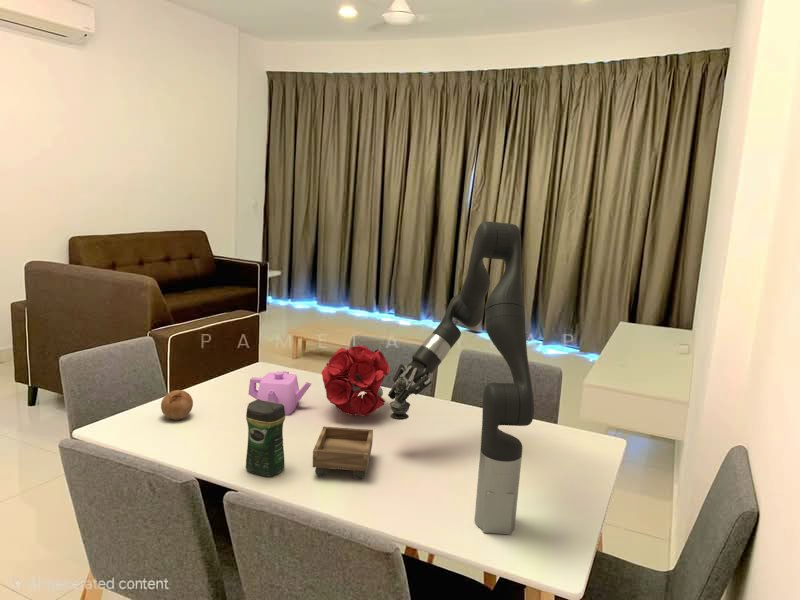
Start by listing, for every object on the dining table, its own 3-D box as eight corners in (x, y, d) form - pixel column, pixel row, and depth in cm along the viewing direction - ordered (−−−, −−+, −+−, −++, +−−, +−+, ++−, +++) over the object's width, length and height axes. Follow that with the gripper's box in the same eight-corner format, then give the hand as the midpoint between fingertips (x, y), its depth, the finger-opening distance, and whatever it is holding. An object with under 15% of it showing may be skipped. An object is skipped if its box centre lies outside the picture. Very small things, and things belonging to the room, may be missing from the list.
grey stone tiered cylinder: (385, 417, 164) (387, 376, 162) (395, 411, 169) (397, 371, 167) (403, 421, 161) (406, 380, 159) (413, 415, 167) (415, 374, 165)
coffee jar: (289, 467, 155) (290, 401, 152) (271, 480, 148) (272, 410, 145) (259, 459, 159) (259, 394, 156) (240, 471, 152) (240, 403, 148)
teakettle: (285, 395, 209) (286, 362, 207) (313, 409, 197) (314, 374, 195) (242, 405, 198) (242, 370, 195) (269, 421, 186) (269, 384, 183)
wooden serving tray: (366, 482, 150) (367, 454, 149) (312, 478, 150) (313, 450, 149) (371, 454, 166) (373, 429, 164) (322, 451, 166) (323, 426, 165)
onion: (180, 431, 182) (179, 409, 176) (154, 419, 183) (153, 396, 178) (199, 411, 189) (199, 389, 183) (175, 400, 191) (174, 378, 185)
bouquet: (339, 414, 212) (302, 396, 185) (360, 353, 218) (327, 327, 192) (392, 431, 204) (361, 414, 177) (413, 367, 210) (386, 342, 183)
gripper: (410, 339, 172) (373, 384, 167) (439, 351, 160) (400, 400, 156) (424, 355, 176) (388, 399, 171) (453, 367, 164) (416, 415, 159)
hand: (394, 399), depth 163 cm, fingers closed on grey stone tiered cylinder, 3 cm apart
